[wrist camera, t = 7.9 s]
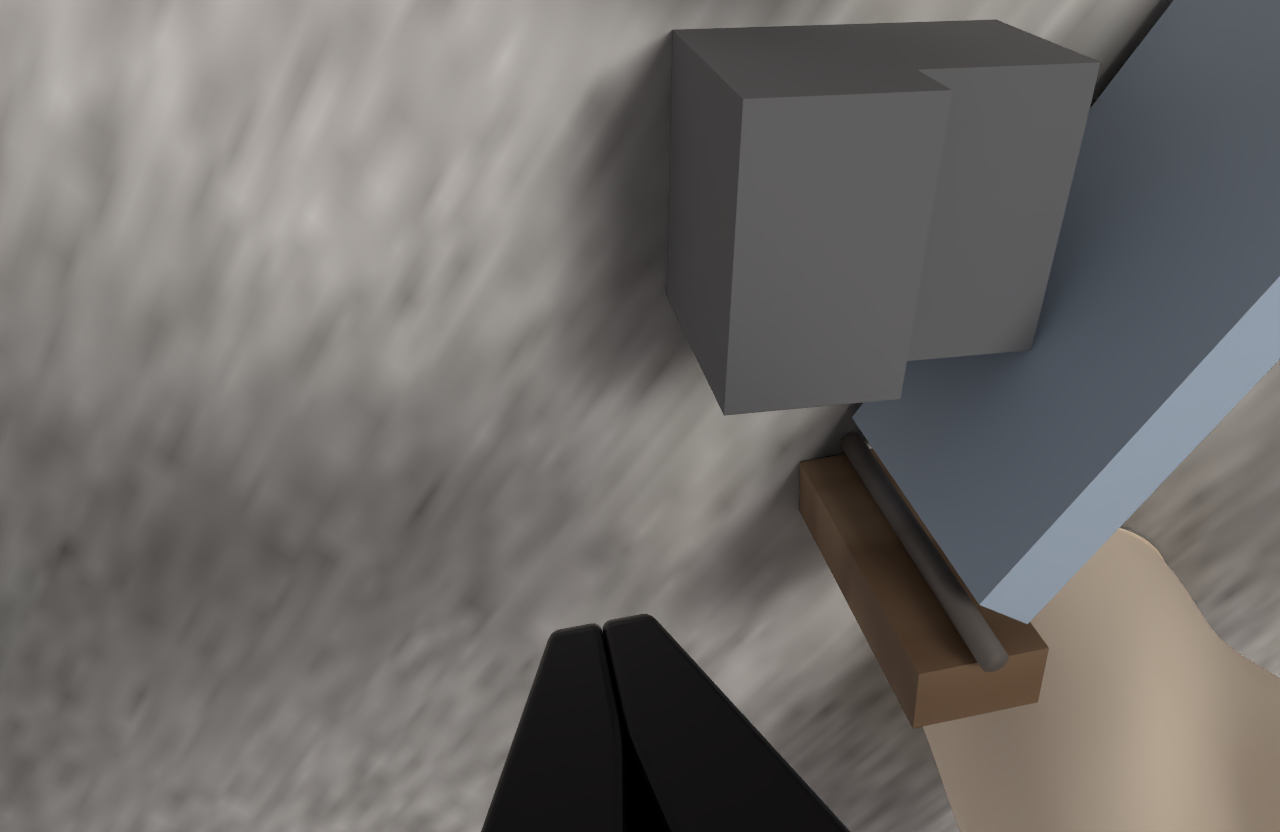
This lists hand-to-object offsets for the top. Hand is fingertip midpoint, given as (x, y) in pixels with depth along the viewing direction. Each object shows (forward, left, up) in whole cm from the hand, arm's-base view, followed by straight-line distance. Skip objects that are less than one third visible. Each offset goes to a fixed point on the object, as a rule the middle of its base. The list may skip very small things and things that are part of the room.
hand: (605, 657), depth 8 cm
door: (-8, -6, -11) cm, 15 cm away
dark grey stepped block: (-5, -4, -12) cm, 13 cm away
